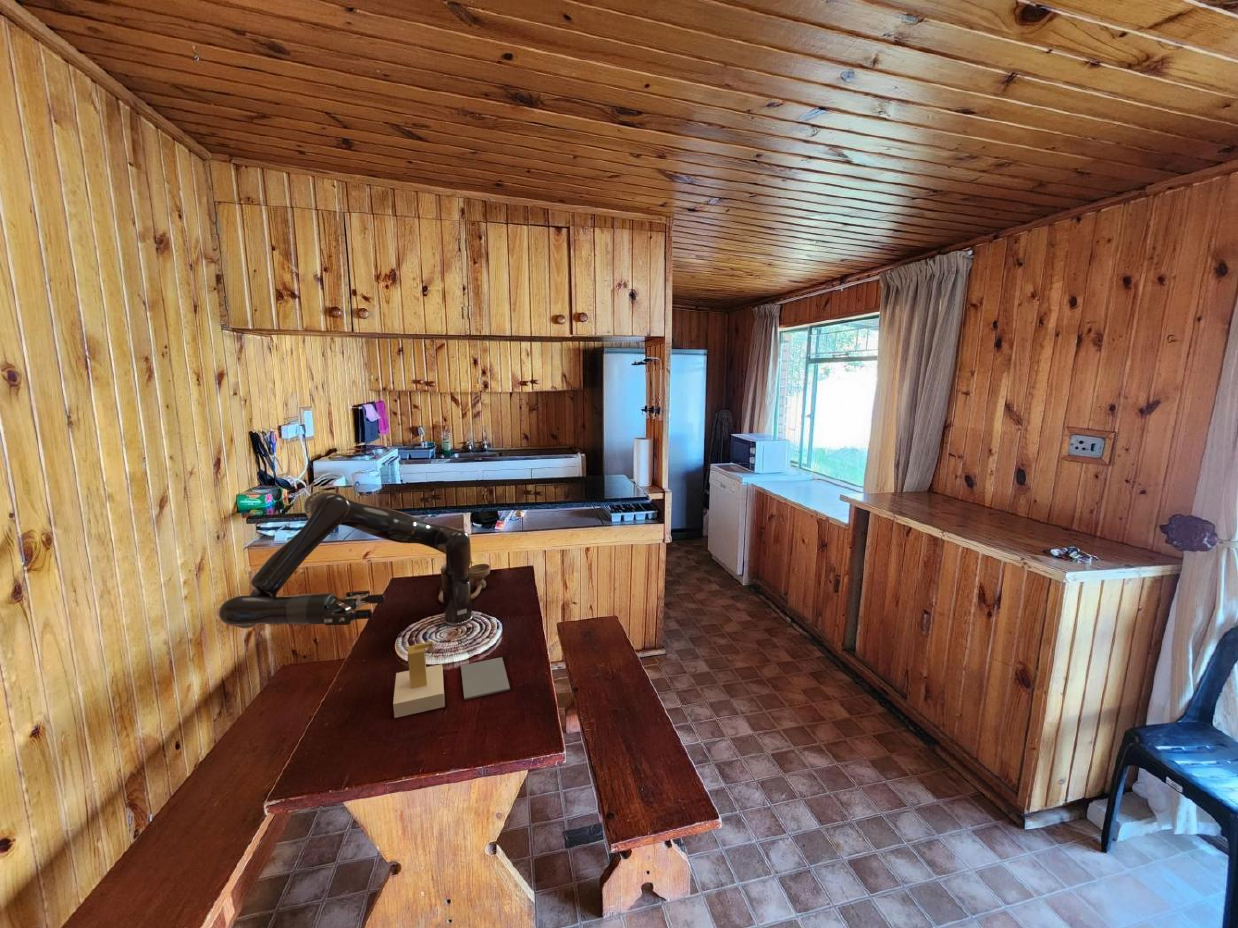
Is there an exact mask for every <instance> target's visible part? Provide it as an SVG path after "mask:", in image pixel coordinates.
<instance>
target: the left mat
mask: <svg viewBox="0 0 1238 928" xmlns="http://www.w3.org/2000/svg"><path fill="white" fill-rule="evenodd" d="M460 673H461V683H462V689H463V690H462V691H463V700H464V701H466V700H470V699H475V698H479V697H484V696H489V695H494V694H499V693H503V692H507V691H510V690H511V687H510V683H509V679H508V676H507V675H508V674H507V671H506V667H505V662H504V659H503V657H496V658H492V659H486V660H481V661H477V662H470V663H466V664H461V665H460Z"/></svg>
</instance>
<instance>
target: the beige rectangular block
mask: <svg viewBox="0 0 1238 928" xmlns="http://www.w3.org/2000/svg"><path fill="white" fill-rule="evenodd" d="M426 670H427V685H426V686H421V687H417V688H412V689H411V685H410V675H409V670H404V671H400V672H396V673H395V682H394V690H393V702H392V708H393V716H394V719H396V718H401V717H405V716H410V715H414V714H419V713H424V712H428V711H433V710H437V709H441V708H445V706H446V705H445V688H444V684H445V683H444V670H443V664H442V663H441V664H436V665H430V666H426Z"/></svg>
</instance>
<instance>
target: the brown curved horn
mask: <svg viewBox="0 0 1238 928" xmlns="http://www.w3.org/2000/svg"><path fill="white" fill-rule="evenodd" d="M490 573H491V566H490V565H489V564H487V563H480V564H475V565H472V566H470V567H469V577H470V579H473V580H476V582H475V587H476V590H475V591H474V592H473V593H471V600H474V599H475V598H476V597H478V596H479V594H481V593H480V592H481V591H482V590H484V589H485V588H486V586H487V581H485V578H486V577H487V576H488V575H490ZM442 597H443V592H442V590H441V593H440V594H439V593H438V597H437V599H438V601H439V603H441V604H443V598H442Z"/></svg>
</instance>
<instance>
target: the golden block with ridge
mask: <svg viewBox="0 0 1238 928" xmlns="http://www.w3.org/2000/svg"><path fill="white" fill-rule="evenodd" d="M427 648H428V651H429V653H432V652H434V641H432V640H431V641H427V642H421V643H416V644H415V643H414V645H408V646H407V663H408V671H409V675H410V685H411V689H412V688H417V687H421V686H426V685H427V670H426V667H427V661H426V650H425V649H427Z"/></svg>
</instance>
